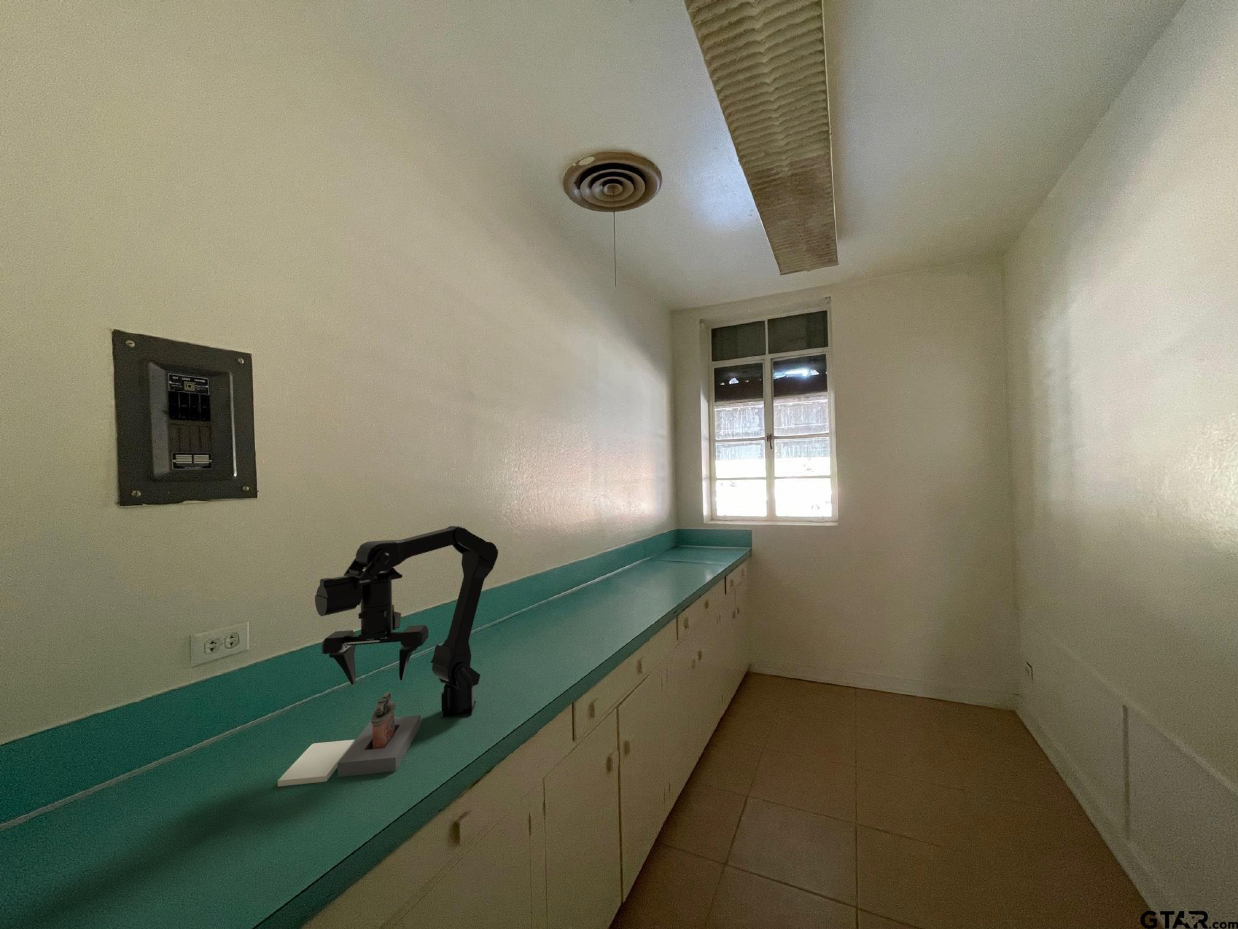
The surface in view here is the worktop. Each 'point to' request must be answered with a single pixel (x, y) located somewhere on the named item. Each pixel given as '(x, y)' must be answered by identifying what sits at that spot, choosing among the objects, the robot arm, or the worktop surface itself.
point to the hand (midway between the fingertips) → (377, 681)
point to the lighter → (383, 722)
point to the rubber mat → (316, 763)
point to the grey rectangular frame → (379, 760)
